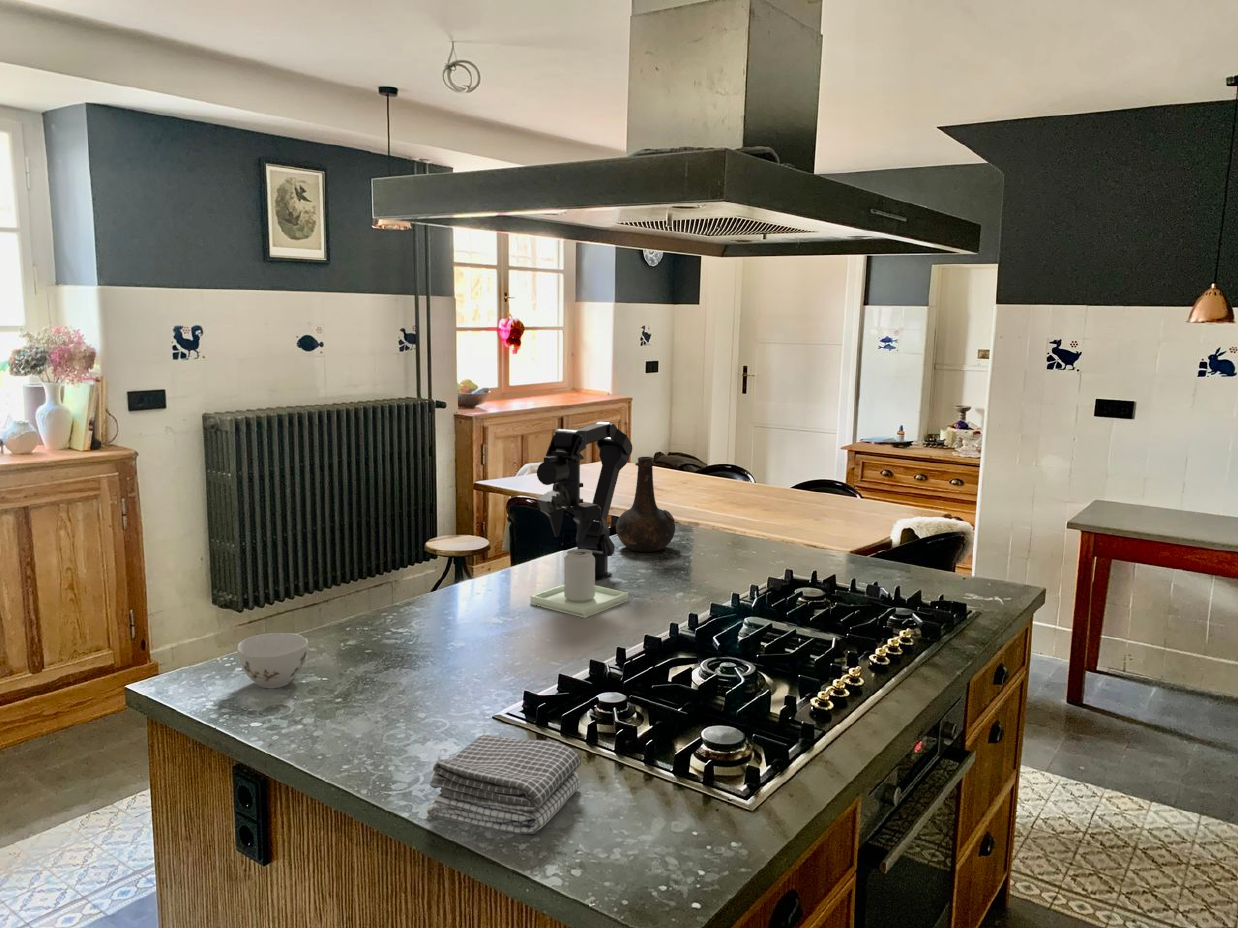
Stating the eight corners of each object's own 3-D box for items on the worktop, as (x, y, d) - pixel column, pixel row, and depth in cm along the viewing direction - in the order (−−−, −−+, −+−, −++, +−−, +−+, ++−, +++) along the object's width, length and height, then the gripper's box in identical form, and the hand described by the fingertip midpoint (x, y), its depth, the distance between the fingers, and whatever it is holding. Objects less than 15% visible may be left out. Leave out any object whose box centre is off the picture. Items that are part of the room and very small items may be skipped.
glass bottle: (669, 558, 271) (670, 463, 267) (609, 553, 275) (610, 460, 271) (679, 543, 288) (681, 454, 284) (623, 540, 292) (624, 451, 288)
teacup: (278, 700, 168) (276, 658, 167) (223, 690, 173) (221, 649, 171) (331, 671, 182) (329, 632, 181) (279, 662, 187) (277, 624, 185)
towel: (541, 842, 124) (541, 787, 123) (421, 816, 130) (420, 764, 129) (583, 789, 138) (584, 739, 137) (474, 768, 144) (473, 720, 143)
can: (596, 595, 231) (596, 547, 230) (593, 604, 224) (593, 555, 222) (566, 594, 232) (566, 547, 230) (562, 603, 225) (562, 554, 223)
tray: (575, 588, 240) (575, 580, 240) (628, 600, 230) (628, 592, 230) (530, 603, 226) (530, 595, 226) (585, 617, 216) (585, 609, 216)
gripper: (520, 477, 236) (520, 537, 238) (567, 487, 223) (567, 551, 225) (554, 473, 244) (554, 531, 246) (602, 482, 230) (601, 544, 233)
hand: (568, 539), depth 237 cm, fingers open, 9 cm apart
